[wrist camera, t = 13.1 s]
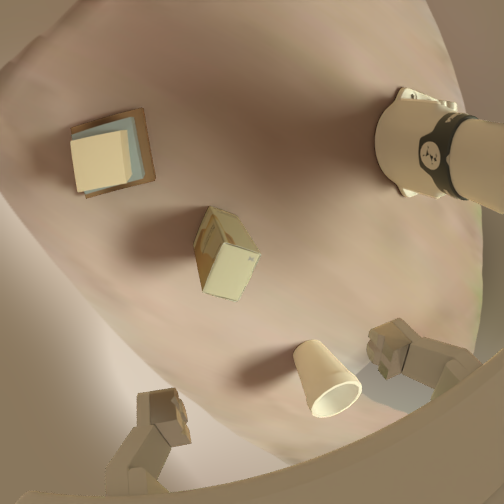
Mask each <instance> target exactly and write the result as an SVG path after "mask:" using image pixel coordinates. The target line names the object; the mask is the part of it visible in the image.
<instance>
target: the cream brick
mask: <svg viewBox="0 0 504 504" xmlns="http://www.w3.org/2000/svg"><path fill="white" fill-rule="evenodd" d="M70 144H71V152H72V160H73V167H74V174H75V180H76V186H77V192H82V191H87V190H92V189H97V188H103V187H108V186H114V185H119V184H125V183H127V182H128V180H129V179H130V177H131V176H132V170H131V161H130V153H129V143H128V133H127V130H121V131H115V132H110V133H105V134H100V135H95V136H90V137H86V138H81V139H77V140H73V141H70Z"/></svg>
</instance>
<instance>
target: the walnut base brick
mask: <svg viewBox="0 0 504 504" xmlns="http://www.w3.org/2000/svg"><path fill="white" fill-rule="evenodd" d="M128 117H134V120H135V125H136V131H137V136H138V142H139V147H140V152H141V157H142V162H143V166H144V171H145V175H144V178H143V179H139V180H135V181H131V182H128V183H125V184H120V185H117V186H113V187H109V188H106V189H102V190H99V191H95V192H92V193H89V194H85V197H86V199H87V198H90V197H94V196H97V195H101V194H104V193H108V192H112V191H116V190H119V189H123V188H127V187H131V186H135V185H139V184H143V183H148V182H152V181H155V179H156V175H155V170H154V165H153V160H152V155H151V149H150V144H149V138H148V132H147V126H146V120H145V114H144V109H143V108H139V109H134V110H130V111H126V112H123V113H119V114H115V115H111V116H108V117H104V118H101V119H97V120H94V121H91V122H88V123H85V124H81V125H78V126H75V127H72V128H71V133H72V134H75V133H78V132H81V131H84V130H87V129H90V128H93V127H97V126H100V125H103V124H107V123H110V122H114V121H117V120H121V119H124V118H128Z"/></svg>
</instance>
